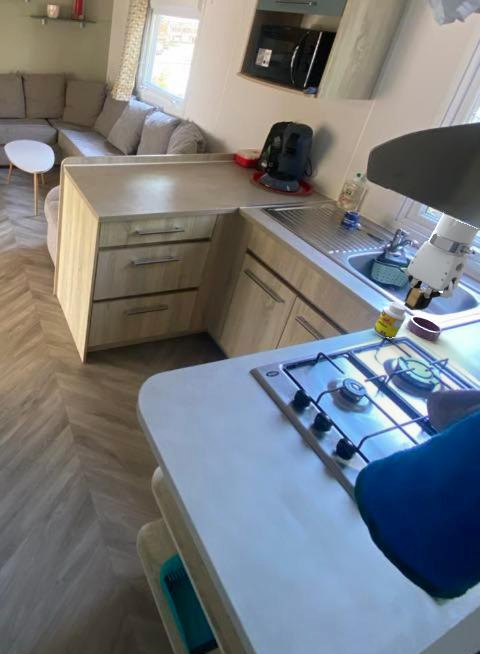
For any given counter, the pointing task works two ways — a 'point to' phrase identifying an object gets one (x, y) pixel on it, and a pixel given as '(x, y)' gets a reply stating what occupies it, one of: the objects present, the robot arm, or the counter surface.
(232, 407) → the counter surface
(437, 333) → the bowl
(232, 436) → the counter surface
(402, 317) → the supplement bottle
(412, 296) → the brown wooden block
